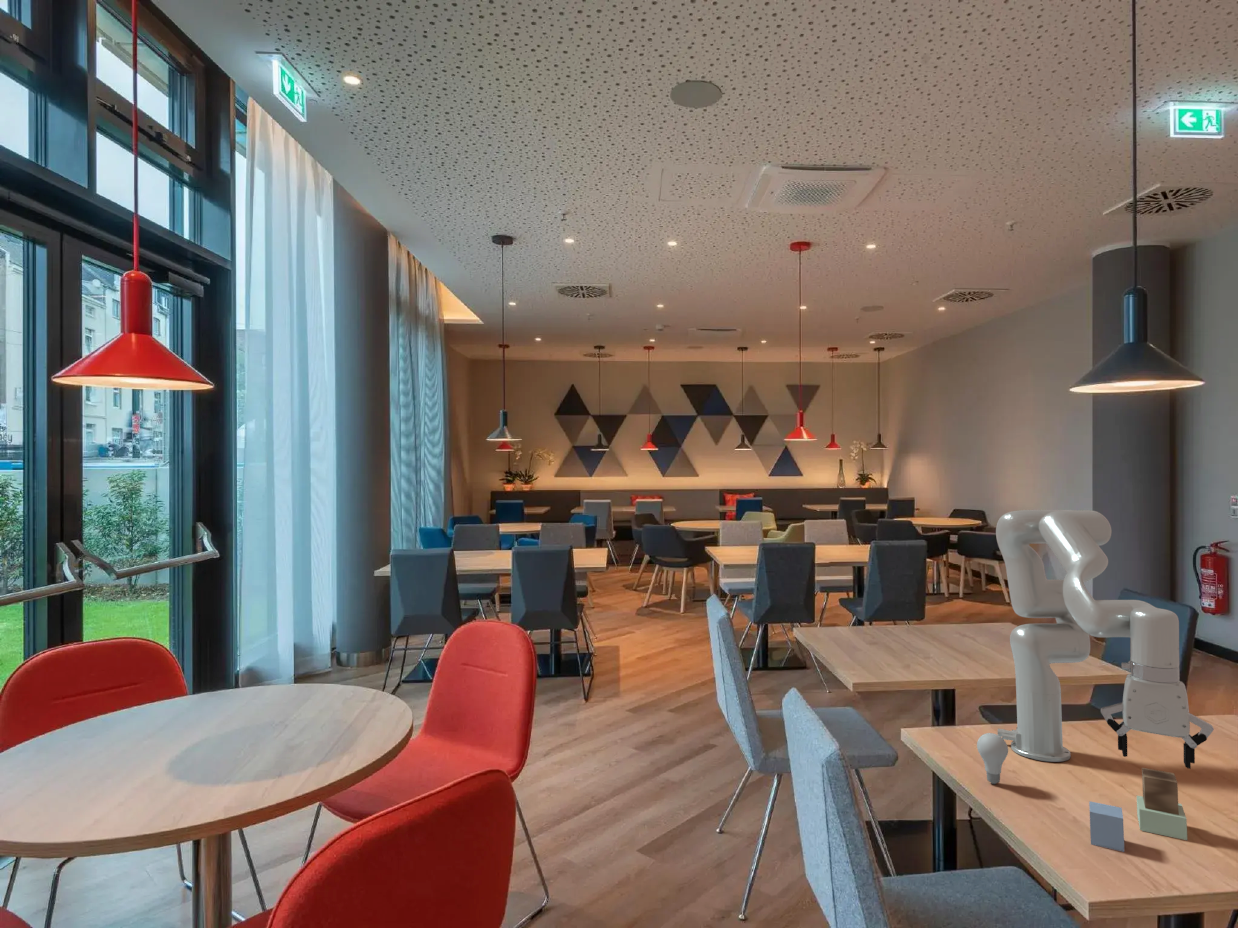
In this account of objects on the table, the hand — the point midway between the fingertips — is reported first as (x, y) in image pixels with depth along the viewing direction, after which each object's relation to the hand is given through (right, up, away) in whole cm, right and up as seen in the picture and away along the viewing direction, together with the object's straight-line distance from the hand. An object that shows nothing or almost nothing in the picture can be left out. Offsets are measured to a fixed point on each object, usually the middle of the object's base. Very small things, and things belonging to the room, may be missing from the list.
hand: (1155, 759), depth 133 cm
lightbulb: (-21, -14, +19) cm, 32 cm away
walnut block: (0, -9, -1) cm, 9 cm away
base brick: (0, -13, -1) cm, 13 cm away
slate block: (-14, -13, -6) cm, 20 cm away
